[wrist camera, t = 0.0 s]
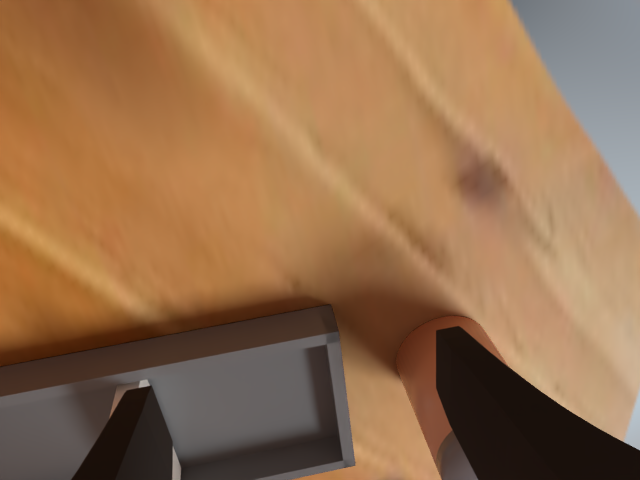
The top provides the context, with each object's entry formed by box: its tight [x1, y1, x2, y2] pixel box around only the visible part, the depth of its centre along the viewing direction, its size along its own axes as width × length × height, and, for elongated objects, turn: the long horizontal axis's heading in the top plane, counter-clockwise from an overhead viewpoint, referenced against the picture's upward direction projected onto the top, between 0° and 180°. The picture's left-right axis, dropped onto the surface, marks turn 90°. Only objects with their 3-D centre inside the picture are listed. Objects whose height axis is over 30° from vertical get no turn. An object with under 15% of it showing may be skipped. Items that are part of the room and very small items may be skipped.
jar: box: [396, 316, 509, 480], centre depth 25 cm, size 5×5×7 cm
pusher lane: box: [0, 305, 355, 480], centre depth 24 cm, size 9×22×5 cm, turn 97°
